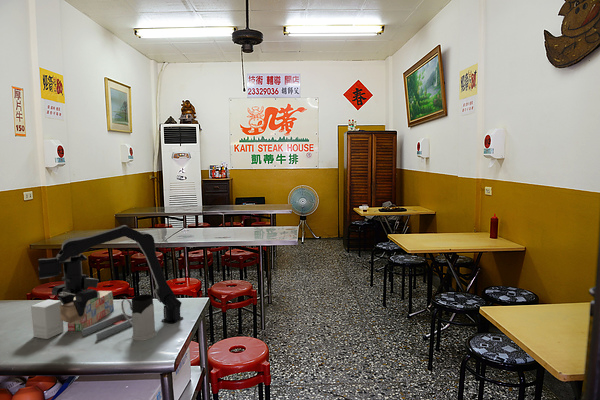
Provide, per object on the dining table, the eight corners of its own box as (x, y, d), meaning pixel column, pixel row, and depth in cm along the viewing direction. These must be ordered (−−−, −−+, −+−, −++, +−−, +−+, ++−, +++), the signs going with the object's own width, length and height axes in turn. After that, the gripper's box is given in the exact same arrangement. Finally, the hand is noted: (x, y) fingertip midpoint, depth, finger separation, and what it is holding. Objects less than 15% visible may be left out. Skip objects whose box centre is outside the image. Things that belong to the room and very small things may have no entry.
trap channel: (138, 322, 157) (138, 316, 157) (98, 340, 141) (98, 334, 141) (123, 318, 161) (122, 312, 161) (82, 335, 145) (82, 329, 145)
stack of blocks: (101, 310, 171) (99, 284, 170) (114, 310, 170) (112, 284, 169) (67, 331, 150) (65, 301, 149) (82, 331, 149) (80, 301, 148)
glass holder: (146, 341, 139) (143, 302, 138) (115, 337, 144) (112, 299, 142) (161, 331, 148) (159, 294, 146) (131, 327, 152) (129, 291, 151)
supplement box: (64, 331, 149) (62, 300, 148) (46, 339, 142) (44, 307, 141) (50, 329, 152) (48, 298, 150) (32, 337, 145) (30, 305, 143)
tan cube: (85, 317, 138) (84, 302, 138) (70, 323, 133) (69, 308, 133) (75, 314, 141) (74, 300, 140) (60, 320, 136) (59, 305, 135)
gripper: (110, 270, 139) (112, 311, 141) (78, 265, 148) (81, 303, 149) (80, 279, 130) (84, 322, 131) (49, 272, 138) (52, 313, 140)
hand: (76, 314), depth 138 cm, fingers closed on tan cube, 5 cm apart
